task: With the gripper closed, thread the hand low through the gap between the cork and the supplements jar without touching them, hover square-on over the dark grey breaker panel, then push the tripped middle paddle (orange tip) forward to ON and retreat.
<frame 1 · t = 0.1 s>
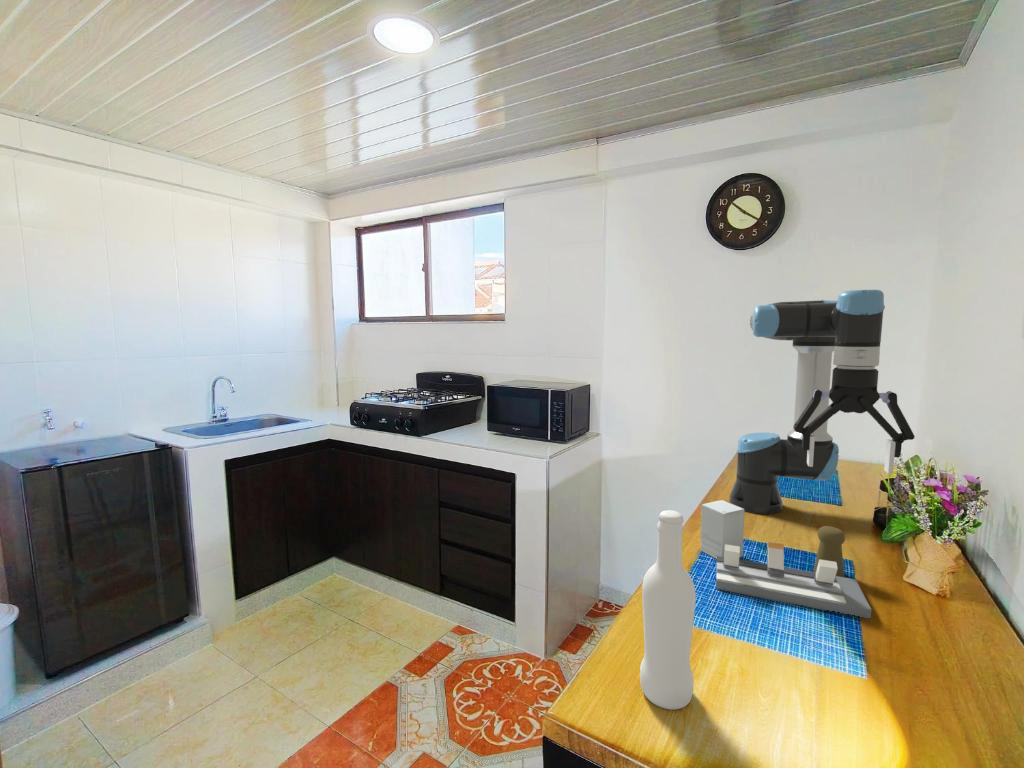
hand: (847, 468, 97), 28 cm above the table, fingers open, 13 cm apart
bottle: (665, 693, 74), on the table
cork: (828, 574, 109), on the table
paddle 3: (825, 573, 98), point 6 cm above the table, hinge at 30.0°
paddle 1: (731, 557, 105), point 6 cm above the table, hinge at 30.0°
breaker panel: (785, 588, 103), on the table
paddle 2: (775, 559, 104), point 6 cm above the table, hinge at -30.0°
supplement box: (721, 554, 119), on the table
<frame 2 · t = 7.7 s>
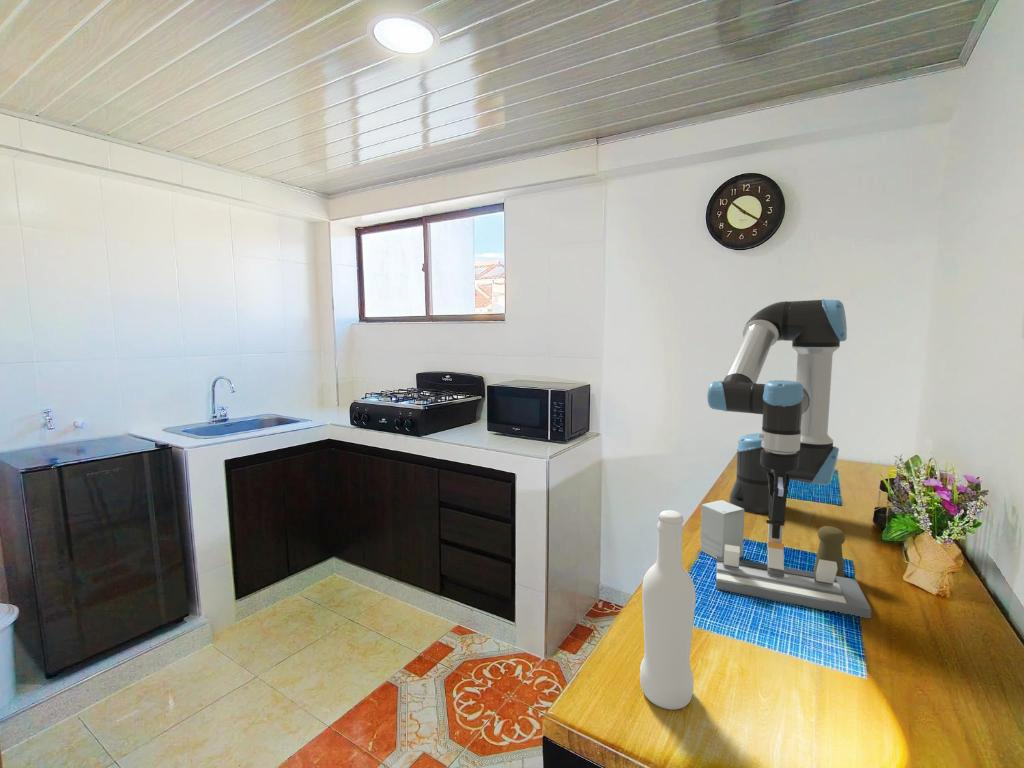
hand: (774, 549, 107), 7 cm above the table, fingers closed
paddle 2: (775, 559, 104), point 6 cm above the table, hinge at -30.0°, touching gripper
everything else where it was.
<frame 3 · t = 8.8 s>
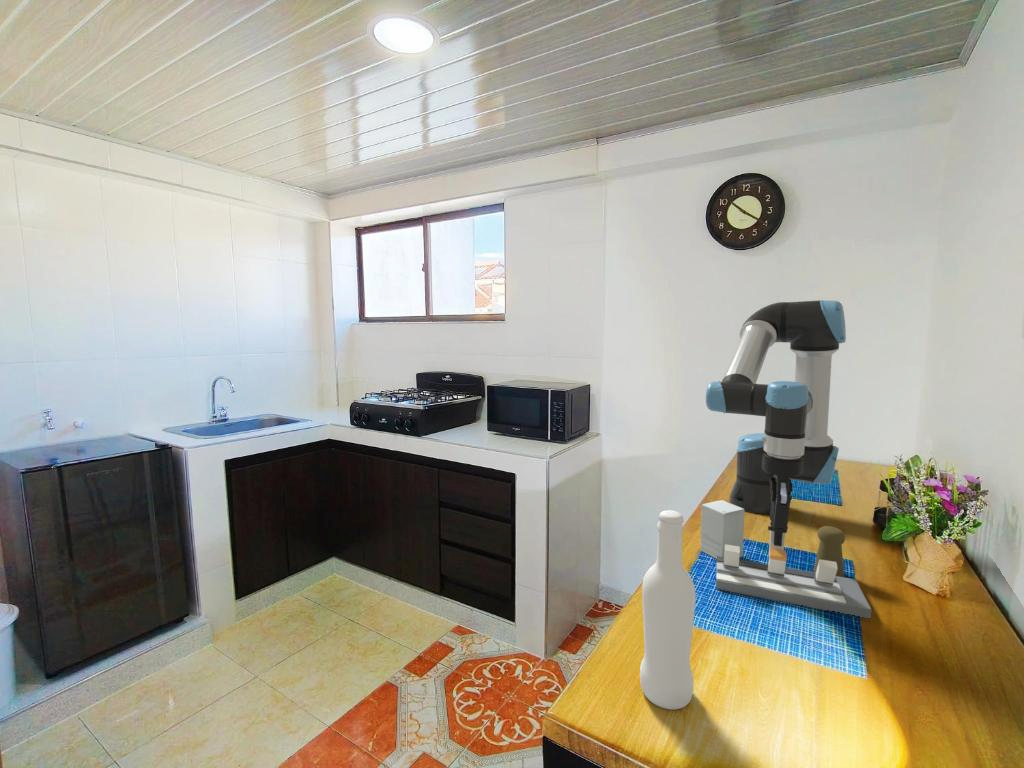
hand: (775, 557, 103), 7 cm above the table, fingers closed
paddle 2: (776, 563, 102), point 6 cm above the table, hinge at 24.0°, touching gripper
everything else where it was.
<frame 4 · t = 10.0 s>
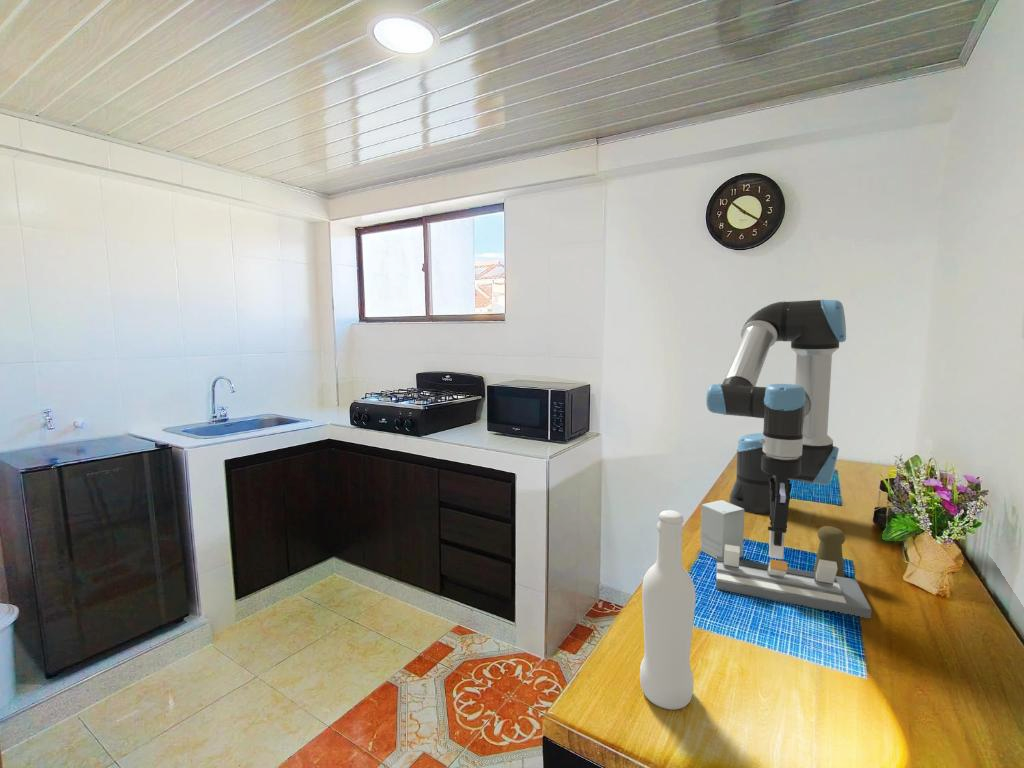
hand: (775, 556, 105), 6 cm above the table, fingers closed
paddle 2: (777, 569, 101), point 5 cm above the table, hinge at 48.1°
everything else where it was.
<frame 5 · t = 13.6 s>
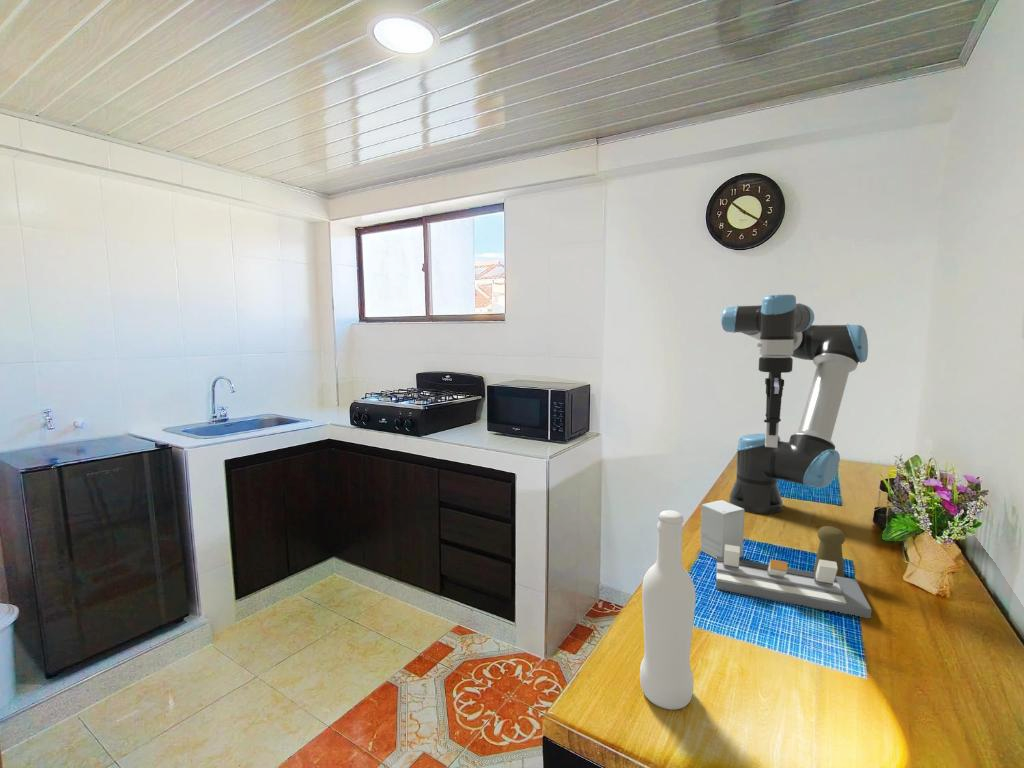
hand: (771, 446, 121), 26 cm above the table, fingers closed
nothing on the table moved.
at the end: paddle 2 at +48° (first picture: -30°); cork moved 0.2 cm from its start; supplement box moved 0.2 cm from its start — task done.
